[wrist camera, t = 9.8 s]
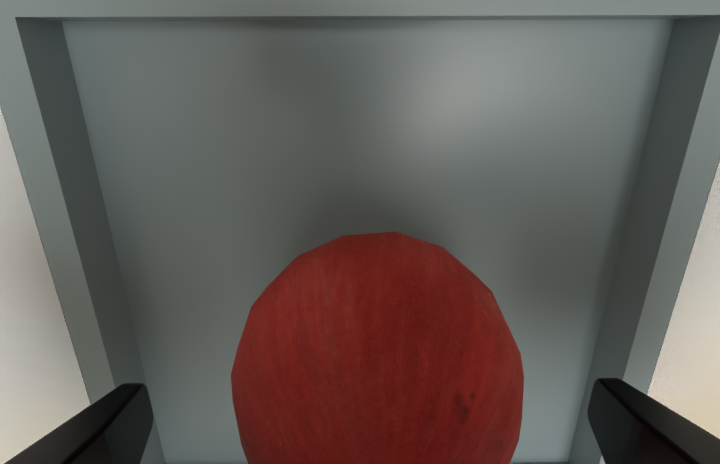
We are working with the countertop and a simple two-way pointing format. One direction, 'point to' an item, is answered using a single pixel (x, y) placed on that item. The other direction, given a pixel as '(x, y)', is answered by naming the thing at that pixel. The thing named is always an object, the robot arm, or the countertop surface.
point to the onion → (377, 360)
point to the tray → (362, 177)
